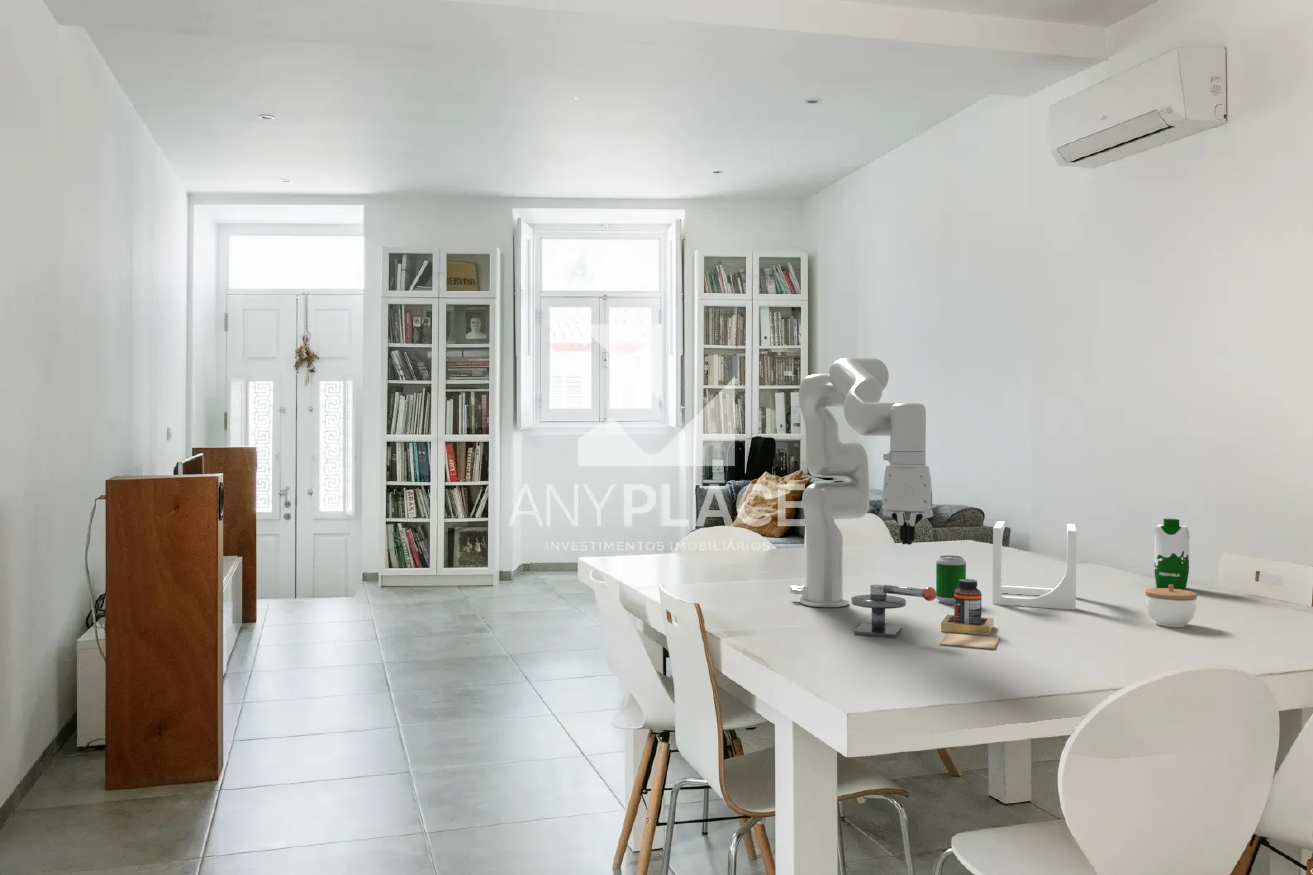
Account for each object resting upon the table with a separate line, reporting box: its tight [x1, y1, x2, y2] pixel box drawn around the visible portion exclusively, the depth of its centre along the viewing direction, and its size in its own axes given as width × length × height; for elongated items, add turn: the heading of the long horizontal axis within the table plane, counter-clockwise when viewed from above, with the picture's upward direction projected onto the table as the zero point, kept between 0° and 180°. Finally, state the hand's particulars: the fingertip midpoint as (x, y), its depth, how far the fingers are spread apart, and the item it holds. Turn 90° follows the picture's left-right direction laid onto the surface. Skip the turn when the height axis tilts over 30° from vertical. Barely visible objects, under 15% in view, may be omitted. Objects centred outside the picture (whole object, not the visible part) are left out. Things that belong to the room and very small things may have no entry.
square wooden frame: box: [940, 614, 995, 636], centre depth 226 cm, size 10×10×2 cm
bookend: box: [992, 520, 1077, 610], centre depth 263 cm, size 20×20×20 cm
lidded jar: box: [1145, 585, 1198, 628], centre depth 231 cm, size 11×11×9 cm
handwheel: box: [850, 584, 937, 610], centre depth 219 cm, size 20×12×5 cm, turn 52°
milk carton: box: [1153, 518, 1190, 590], centre depth 282 cm, size 9×9×20 cm
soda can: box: [935, 554, 967, 605], centre depth 260 cm, size 8×8×12 cm
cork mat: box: [939, 632, 1000, 651], centre depth 212 cm, size 11×11×1 cm
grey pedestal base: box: [853, 608, 903, 639], centre depth 222 cm, size 9×9×6 cm
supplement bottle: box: [953, 578, 982, 625], centre depth 225 cm, size 6×6×11 cm
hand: (907, 543), depth 214 cm, fingers closed
